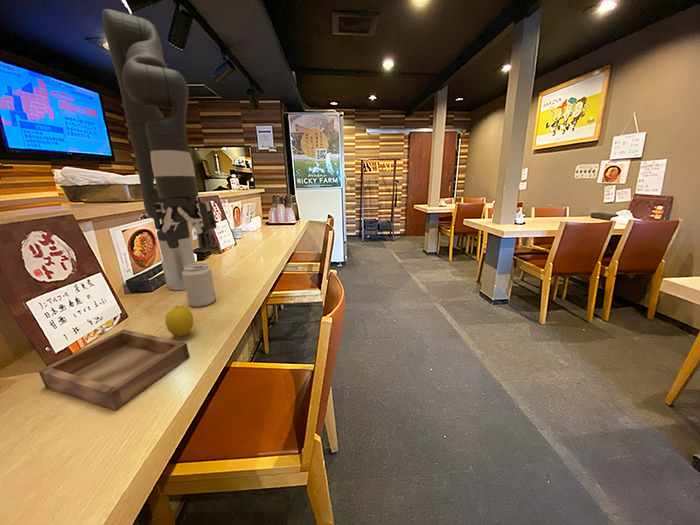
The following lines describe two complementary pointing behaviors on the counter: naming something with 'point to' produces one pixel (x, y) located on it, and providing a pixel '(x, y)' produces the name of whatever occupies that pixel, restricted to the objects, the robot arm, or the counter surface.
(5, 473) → the counter surface
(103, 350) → the tray
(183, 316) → the lemon
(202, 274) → the can
